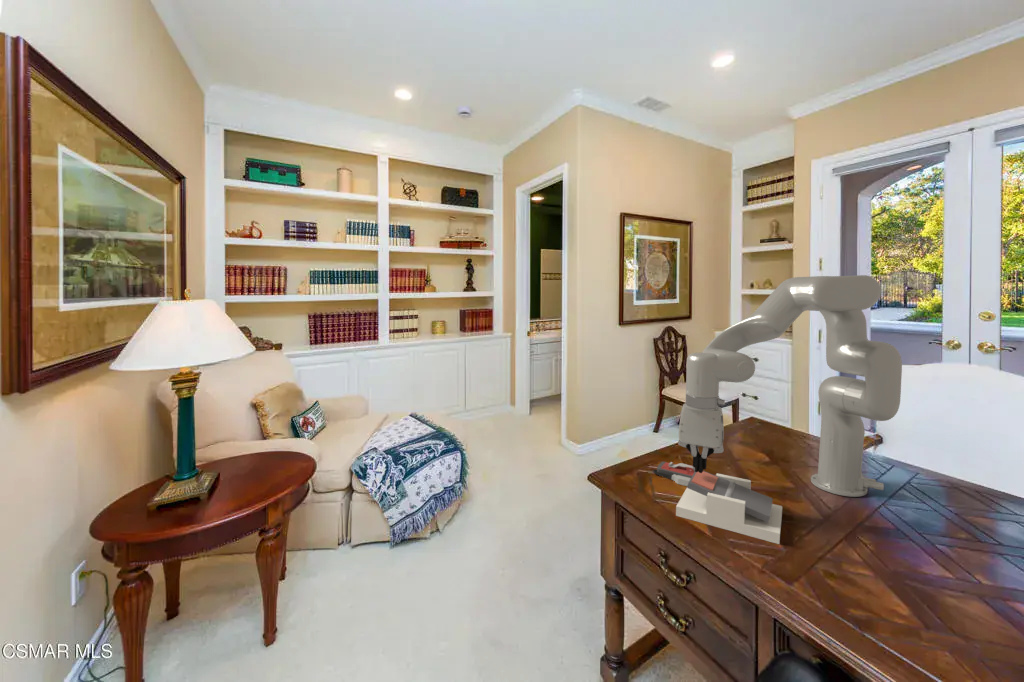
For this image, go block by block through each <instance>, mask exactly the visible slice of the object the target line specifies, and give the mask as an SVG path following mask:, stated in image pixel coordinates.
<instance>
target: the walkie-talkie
mask: <svg viewBox="0 0 1024 682" xmlns="http://www.w3.org/2000/svg"><path fill="white" fill-rule="evenodd" d="M694 472H695V467H693V464H692V465H691V464H686V463H682V462H680V463H677V464H676V463H674V462H672V461H670V462H666V461H661V462H660V463H659V464H658V465H657V467H656V469H653V470H652V473H653V474H655V475H657V476H658V475H659V476H658V477H660V476H663V477H662V478H665V477H666V478H665V479H668V480H671V481H673V482H674V481H675V483H676V484H677V485H681V486H683V487H684V486H685V487H687V486H688V482H689V481H690V479H691V477H692V476H693V474H694Z"/></svg>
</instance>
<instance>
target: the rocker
mask: <svg viewBox="0 0 1024 682" xmlns="http://www.w3.org/2000/svg"><path fill="white" fill-rule="evenodd" d="M686 488H689V489H691V490H693V491H696V492H698V493H700V494H703V495H705V496H707V494H708V492H709V493H713V494H717V495H722V496H726V497H730V498H734V499H739V500H743V501H745V513H747V514H749V515H752V516H754V517H756V518H759V519H761V520H763V521H766V522H769V519H770V514H771V507H772V504H773V497H771V496H767V495H765V494H763V493H760V492H758V491H755V490H753V489H751V490H750V489H748V488H745V487H743V486H740V485H738V484H736V483H735V482H732V481H728V480H725V479H723V478H720V477H718V476H716V474H715V475H714V474H712V473H710V472H707V471H705V470H703V472H702V473H699V471H698V472H694V474H693V476H692V477H691V479H690V481H689V482H688V486H686Z"/></svg>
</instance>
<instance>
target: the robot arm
mask: <svg viewBox="0 0 1024 682" xmlns="http://www.w3.org/2000/svg"><path fill="white" fill-rule="evenodd" d="M881 295H882V288H881V285H880V283H879V282H878V280H877V279H875V278H874V277H872V276H870V275H864V274H863V275H858V274H857V275H838V276H837V275H836V276H835V275H818V276H817V275H815V276H797V277H796V276H795V277H791V278H786V279H785V280H784V281H782V282H780V284H779V285H778V286H777V287H776V288H775V289H774V290H773V291H772V292H771V293H770V294H769V295H768V297H767V298H766V299H765V300H764V301H763V302H762V303H761V304H760V305H759V306H758V307H757V309H755V311H754V312H753V313H751V315H749V316H747V317H746V318H743V319H741V320H740V321H738V322H736V323H735V324H733V325H730V326H729V327H727V328H726V329H724V330H722V331H721V332H719V333H718V334H717V335H716V336H715V337H713V339H712V340H711V341H710V342H709V343H708V344H707V345H706V346H705V348H704V349H703V351H702V352H692V353H690V354H689V355H687V358H686V371H685V372H686V380H685V403H683V404H682V408H681V411H680V418H679V419H680V420H679V423H678V424H679V426H678V442H677V444H678V446H680V447H683V448H686V449H687V450H688V452H689V453H690V454H691V456H692V466H693V467H695V472H698V471H699V473H702V472H703V471H705V470H706V469H707V463H708V461H707V459H708V457H709V456H711V455H713V454H722V453H723V452H724V450H725V449H724V438H725V437H724V436H725V435H724V434H725V431H724V429H725V428H724V415H723V410H722V407H720V406H725V404H726V400H725V399H722V398H720V395H719V389H720V382H727V383H743V382H746V381H748V380H750V378H752V377H753V375H754V374H755V371H756V363H755V361H754V359H752V358H751V357H750V356H748V355H747V354H745V353H741V352H738V351H740V350H742V349H743V348H746V347H748V346H751V345H755V344H759V343H765V342H768V341H772V340H775V339H778V338H779V337H782V336H783V334H784V333H785V332H786V331H787V330H788V329H789V328H790V327H791V325H792V324H794V322H795V321H796V320H797V319H798V318H799V317H800V316H801V315H802V313H804V312H806V311H815V312H819V313H820V314H821V315H822V316H823V319H824V321H825V328H826V329H825V330H826V335H825V336H826V339H825V340H826V343H825V345H826V347H825V357H826V358H825V359H826V360H825V361H826V364H827V366H828V367H829V368H830V369H831V370H834V371H835V372H839V373H844V374H847V375H854V376H859V377H862V378H863V377H864V380H863V379H859V378H854V377H849V376H842V375H841V376H840V375H836V376H830V377H826V378H825V379H824V380H823V381H822V382H821V383H820V385H819V387H818V400H819V404H820V406H819V407H820V414H821V415H820V416H821V417H820V419H821V420H820V436H819V450H818V465H817V468H818V469H817V473H814V474H812V475H811V477H810V481H811V483H812V484H813V486H815V487H816V488H818V489H820V490H822V491H824V492H828V493H831V494H834V495H837V496H838V495H839V496H843V497H853V498H856V497H857V498H858V497H864V496H866V495H867V494H868V489H869V488H870V489H874V490H879V491H884V487H885V486H884V485H885V484H884V482H879V481H877V479H875V478H874V479H873V478H868V477H866V476H864V475H863V472H862V469H863V468H862V467H863V457H864V456H863V455H864V444H865V443H864V442H865V433H866V432H865V425H864V423H863V419H862V418H865V419H868V420H872V421H879V422H885V421H889V420H892V419H893V418H894V417H895V416H896V414H897V413H898V411H899V409H900V406H901V405H900V404H901V395H902V394H901V393H902V373H903V361H902V357H901V356H902V355H901V353H900V351H899V350H898V349H897V348H896V346H894V345H892V344H890V343H888V342H884V341H878V340H869V339H868V335H867V334H868V333H867V332H868V331H867V327H868V326H867V318H866V315H865V314H864V312H863V310H867V309H869V308H871V307H873V306H874V305H875V304H877V302H878V301H879V299H880V298H881ZM699 447H701V448H702V452H701V453H700V452H699Z"/></svg>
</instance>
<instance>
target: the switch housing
mask: <svg viewBox="0 0 1024 682" xmlns="http://www.w3.org/2000/svg"><path fill="white" fill-rule="evenodd" d="M715 476H718V477H720V478H723V479H725V480H728V481H732V482H735V483H736V484H738V485H740V486H743V487H745V488H748V489H750V490H752V488H751V487H752V480H750V479H746V478H741V477H736V476H733V475H727V474H722V473H716V474H715ZM675 516H676V517H680V518H683V519H687V520H690V521H694V522H696V523H697V522H698V523H701V524H703V525H704V524H705V525H708V526H712V527H715V528H719V529H723V530H726V531H730V532H734V533H738V534H741V535H744V536H748V537H752V538H755V539H758V540H762V541H766V542H770V543H773V544H777V545H780V541H781V529H782V518H783V506H782V505H779V504H775V503H772V507H771V514H770V519H769V522H766V521H763V520H761V519H759V518H756V517H754V516H752V515H749V514H747V513H745V501H743V500H739V499H734V498H730V497H726V496H722V495H717V494H713V493H709V492H708V494H707V496H705V495H703V494H700V493H698V492H696V491H693V490H691V489H689V488H687V487H686V489H685V490H684V492H683V494H682V495H681V497H680V499H679V500H678V502H677V504H676V506H675Z"/></svg>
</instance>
